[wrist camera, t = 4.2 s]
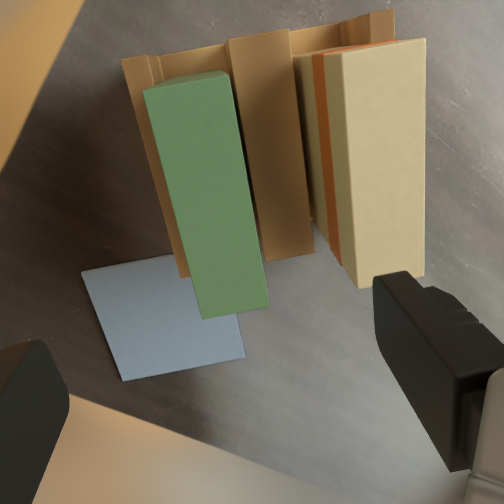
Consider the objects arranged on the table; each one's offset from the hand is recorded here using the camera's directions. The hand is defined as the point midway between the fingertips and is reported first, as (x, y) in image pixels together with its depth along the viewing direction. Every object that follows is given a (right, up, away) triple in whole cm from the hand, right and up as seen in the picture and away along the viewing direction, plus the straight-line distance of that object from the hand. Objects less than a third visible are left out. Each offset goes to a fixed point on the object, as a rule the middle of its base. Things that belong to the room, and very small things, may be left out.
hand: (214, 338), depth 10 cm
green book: (-2, +10, +21) cm, 24 cm away
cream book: (+6, +11, +21) cm, 25 cm away
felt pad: (-7, -4, +28) cm, 29 cm away
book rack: (+2, +11, +22) cm, 25 cm away
